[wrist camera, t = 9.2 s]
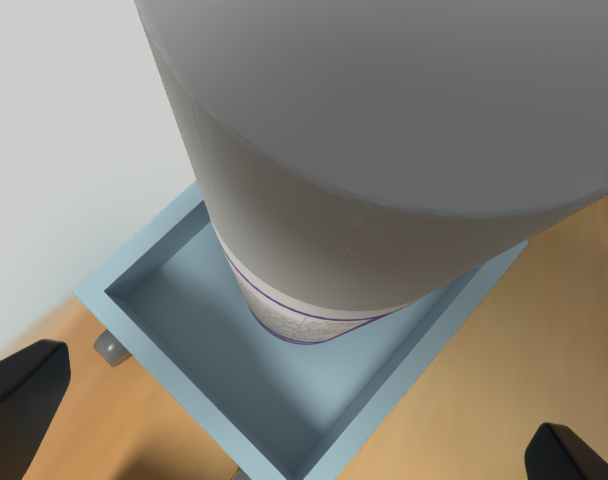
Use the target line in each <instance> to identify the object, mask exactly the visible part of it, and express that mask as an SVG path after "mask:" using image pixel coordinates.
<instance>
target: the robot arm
mask: <svg viewBox="0 0 608 480" xmlns="http://www.w3.org/2000/svg"><path fill="white" fill-rule="evenodd" d="M70 379H71V370H70V361H69V352H68V346H67V344H66V343H65V342H62V341H56V340H50V339H42V340H39V341H37V342H35V343H33V344H31V345H29V346H28V347H26V348H24V349H22V350H20V351H18V352H16V353H14V354H12V355H11V356H9V357H7V358H5V359H3V360H1V361H0V480H22V478H23V476H24V474H25V473H26V471H27V469H28V468H29V466H30V464H31V462H32V460H33V458H34V456H35V454H36V452H37V450H38V448H39V446H40V444H41V442H42V440H43V438H44V436H45V434H46V432H47V430H48V428H49V425H50V423H51V421H52V419H53V417H54V415H55V413H56V411H57V409H58V407H59V405H60V403H61V401H62V399H63V396H64V394H65V392H66V390H67V388H68V386H69V383H70ZM524 461H525V467H526V473H527V478H528V480H608V463H607V462H605V461H604V460H603V459H602V458H601V457H600V456H599V455H598V454H597V453H596V452H595V451H594V450H593V449H591V448H590V447H589V446H588V445H587V444H586V443H585V442H584V441H583V440H582V439H581V438H580V437H578V436H577V435H576V434H575V433H574V432H573V431H572V430H571V429H570V428H568V427H567V426H564V425H560V424H554V423H548V422H546V423H543V424H541V425H540V426H539V428H538V430H537V431H536V433H535V435H534V436H533V438H532V440H531V441H530V443H529V445H528V446H527V448H526V451H525V456H524Z"/></svg>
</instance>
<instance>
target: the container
mask: <svg viewBox="0 0 608 480" xmlns="http://www.w3.org/2000/svg"><path fill="white" fill-rule="evenodd" d="M134 1H135V5H136V8H137V11H138V13H139V16H140V19H141V22H142V25H143V28H144V31H145V33H146V36H147V39H148V42H149V45H150V48H151V51H152V53H153V56H154V59H155V62H156V65H157V68H158V70H159V73H160V76H161V79H162V82H163V85H164V88H165V90H166V93H167V96H168V99H169V102H170V105H171V108H172V110H173V113H174V116H175V119H176V122H177V125H178V128H179V130H180V133H181V136H182V139H183V142H184V145H185V148H186V150H187V153H188V156H189V159H190V162H191V165H192V167H193V170H194V173H195V176H196V179H197V182H198V185H199V188H200V190H201V193H202V196H203V199H204V202H205V205H206V208H207V210H208V213H209V216H210V219H211V223H212V226H213V229H214V232H215V234H216V236H217V238H218V241H219V243H220V245H221V247H222V249H223V252H224V254H225V256H226V258H227V260H228V263H229V265H230V267H231V269H232V271H233V273H234V276H235V278H236V280H237V282H238V284H239V287H240V289H241V291H242V293H243V295H244V297H245V300H246V302H247V304H248V306H249V308H250V311H251V312H252V314H253V316H254V317H255V319H256V320H257V321H258V322H259V324H260V325H261V326H262V327H263V328H264V329H265V330H266V331H268V332H269V333H270V334H272V335H273V336H275V337H277V338H279V339H281V340H283V341H286V342H289V343H293V344H299V345H314V344H320V343H324V342H327V341H329V340H332V339H334V338H337V337H339V336H341V335H343V334H346V333H348V332H350V331H353V330H355V329H357V328H359V327H362V326H364V325H366V324H369V323H371V322H373V321H376V320H378V319H380V318H382V317H385V316H387V315H389V314H392V313H394V312H396V311H398V310H401V309H403V308H405V307H407V306H409V305H411V304H413V303H415V302H416V301H418V300H419V299H421V298H422V297H424V296H426V295H428V294H430V293H431V292H433V291H435V290H437V289H439V288H440V287H442V286H444V285H446V284H448V283H449V282H451V281H453V280H455V279H457V278H458V277H460V276H462V275H464V274H466V273H467V272H469V271H471V270H473V269H475V268H476V267H478V266H480V265H482V264H484V263H485V262H487V261H489V260H491V259H493V258H494V257H496V256H498V255H500V254H502V253H503V252H505V251H507V250H509V249H511V248H512V247H514V246H516V245H518V244H520V243H521V242H523V241H525V240H527V239H529V238H530V237H532V236H534V235H536V234H538V233H539V232H541V231H543V230H545V229H547V228H548V227H550V226H552V225H554V224H556V223H557V222H559V221H561V220H563V219H565V218H566V217H568V216H570V215H572V214H574V213H575V212H577V211H579V210H581V209H583V208H584V207H586V206H588V205H590V204H592V203H593V202H595V201H597V200H599V199H601V198H602V197H604V196H606V195H608V0H134Z"/></svg>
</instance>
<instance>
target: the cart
mask: <svg viewBox="0 0 608 480" xmlns="http://www.w3.org/2000/svg"><path fill="white" fill-rule="evenodd" d="M528 243H529V242H528V241H527V240H525V241H523V242H521V243H520V244H518V245H516V246H514V247H512V248H511V249H509V250H507V251H505V252H503V253H502V254H500V255H498V256H496V257H494V258H493V259H491V260H489V261H487V262H485V263H484V264H482V265H480V266H478V267H476V268H475V269H473V270H471V271H469V272H467V273H466V274H464V275H462V276H460V277H458V278H457V279H455V280H453V281H451V282H449V283H448V284H446V285H444V286H442V287H440V288H439V289H437V290H435V291H433V292H431V293H430V294H428V295H426V296H424V297H422V298H421V299H419V300H418V301H416V302H415V303H413V304H411V305H409V306H407V307H405V308H403V309H401V310H398V311H396V312H394V313H392V314H389V315H387V316H385V317H382V318H380V319H378V320H376V321H373V322H371V323H369V324H366V325H364V326H362V327H359V328H357V329H355V330H353V331H350V332H348V333H346V334H343V335H341V336H339V337H337V338H334V339H332V340H329V341H327V342H324V343H320V344H314V345H299V344H293V343H289V342H286V341H283V340H281V339H279V338H277V337H275V336H273V335H272V334H270V333H269V332H268V331H266V330H265V329H264V328H263V327H262V326H261V325H260V324H259V322H258V321H257V320H256V319H255V317H254V316H253V314H252V312H251V311H250V308H249V306H248V304H247V302H246V300H245V297H244V295H243V293H242V291H241V289H240V287H239V284H238V282H237V280H236V278H235V276H234V273H233V271H232V269H231V267H230V265H229V263H228V260H227V258H226V256H225V254H224V252H223V249H222V247H221V245H220V243H219V241H218V238H217V236H216V234H215V232H214V229H213V226H212V223H211V219H210V216H209V213H208V210H207V208H206V205H205V202H204V199H203V196H202V193H201V190H200V188H199V185H198V182H197V180H196V181H195V182H194V183H193V184H191V185H190V186H189V187H188V188H187V189H186V190H185V191H184V192H183V193H181V194H180V195H179V196H178V197H177V198H176V199H175V200H174V201H173V202H171V203H170V204H169V205H168V206H167V207H166V208H165V209H164V210H162V211H161V212H160V213H159V214H158V215H157V216H156V217H155V218H154V219H152V220H151V221H150V222H149V223H148V224H147V225H146V226H145V227H144V228H142V229H141V230H140V231H139V232H138V233H137V234H136V235H135V236H134V237H133V238H131V239H130V240H129V241H128V242H127V243H126V244H125V245H124V246H122V247H121V248H120V249H119V250H118V251H117V252H116V253H115V254H113V255H112V256H111V257H110V258H109V259H108V260H107V261H106V262H105V263H103V264H102V265H101V266H100V267H99V268H98V269H97V270H96V271H95V272H93V273H92V274H91V275H90V276H89V277H88V278H87V279H86V280H85V281H83V282H82V283H81V284H80V285H79V286H78V287H77V288H76V289H75V290H73V291H72V292H73V293H74V294H75V296H76V297H77V298H78V299H79V300H80V301H81V302H82V303H83V304H84V305H85V306H86V307H87V308H88V309H89V310H90V311H91V312H92V313H93V314H94V315H95V316H96V317H97V318H98V320H99V321H100V322H101V323H102V324H103V325H104V326H105V327H106V328H107V330H105V331H104V332H103V333H102V334H101V335H100V336H99V337H98V339H97V340H96V341H95V343H94V346H93V347H94V348H95V349H96V351H97V352H98V353H99V354H100V355H101V356H102V357H103V358H104V359H105V360H106V361H107V362H108V363H109V364H110V365H111V366H112V367H115V366H117V365H119V364H121V363H122V362H124V361H125V360H126V359H128V358H129V357H130V356H131V355H133V356H134V357H135V358H136V359H137V360H138V361H139V362H140V363H141V364H142V365H143V366H144V368H145V369H146V370H147V371H148V372H149V373H150V374H151V375H152V376H153V377H154V378H155V379H156V380H157V381H158V382H159V383H160V384H161V385H162V386H163V387H164V388H165V389H166V390H167V392H168V393H169V394H170V395H171V396H172V397H173V398H174V399H175V400H176V401H177V402H178V403H179V404H180V405H181V406H182V407H183V408H184V409H185V410H186V411H187V412H188V413H189V414H190V416H191V417H192V418H193V419H194V420H195V421H196V422H197V423H198V424H199V425H200V426H201V427H202V428H203V429H204V430H205V431H206V432H207V433H208V434H209V435H210V436H211V437H212V438H213V439H214V441H215V442H216V443H217V444H218V445H219V446H220V447H221V448H222V449H223V450H224V451H225V452H226V453H227V454H228V455H229V456H230V457H231V458H232V459H233V460H234V461H235V462H236V463H237V465H238V466H239V467H240V468H239V470H238V471H237V472H236V473H235V474H234V476H233V477H232V478H231V480H335V479H336V477H337V476H338V475H339V474H340V472H341V471H342V470H343V469H344V468H345V466H346V465H347V464H348V463H349V462H350V460H351V459H352V458H353V457H354V455H355V454H356V453H357V452H358V451H359V449H360V448H361V447H362V446H363V444H364V443H365V442H366V441H367V440H368V438H369V437H370V436H371V435H372V433H373V432H374V431H375V430H376V429H377V427H378V426H379V425H380V424H381V423H382V421H383V420H384V419H385V418H386V416H387V415H388V414H389V413H390V412H391V410H392V409H393V408H394V407H395V405H396V404H397V403H398V402H399V401H400V399H401V398H402V397H403V396H404V394H405V393H406V392H407V391H408V390H409V388H410V387H411V386H412V385H413V383H414V382H415V381H416V380H417V379H418V377H419V376H420V375H421V374H422V373H423V371H424V370H425V369H426V368H427V366H428V365H429V364H430V363H431V362H432V360H433V359H434V358H435V357H436V355H437V354H438V353H439V352H440V351H441V349H442V348H443V347H444V346H445V344H446V343H447V342H448V341H449V340H450V338H451V337H452V336H453V335H454V333H455V332H456V331H457V330H458V329H459V327H460V326H461V325H462V324H463V323H464V321H465V320H466V319H467V318H468V316H469V315H470V314H471V313H472V312H473V310H474V309H475V308H476V307H477V305H478V304H479V303H480V302H481V301H482V299H483V298H484V297H485V296H486V294H487V293H488V292H489V291H490V290H491V288H492V287H493V286H494V285H495V284H496V282H497V281H498V280H499V279H500V277H501V276H502V275H503V274H504V273H505V271H506V270H507V269H508V268H509V266H510V265H511V264H512V263H513V262H514V260H515V259H516V258H517V257H518V255H519V254H520V253H521V252H522V251H523V249H524V248H525V247H526V246H527V244H528Z"/></svg>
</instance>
